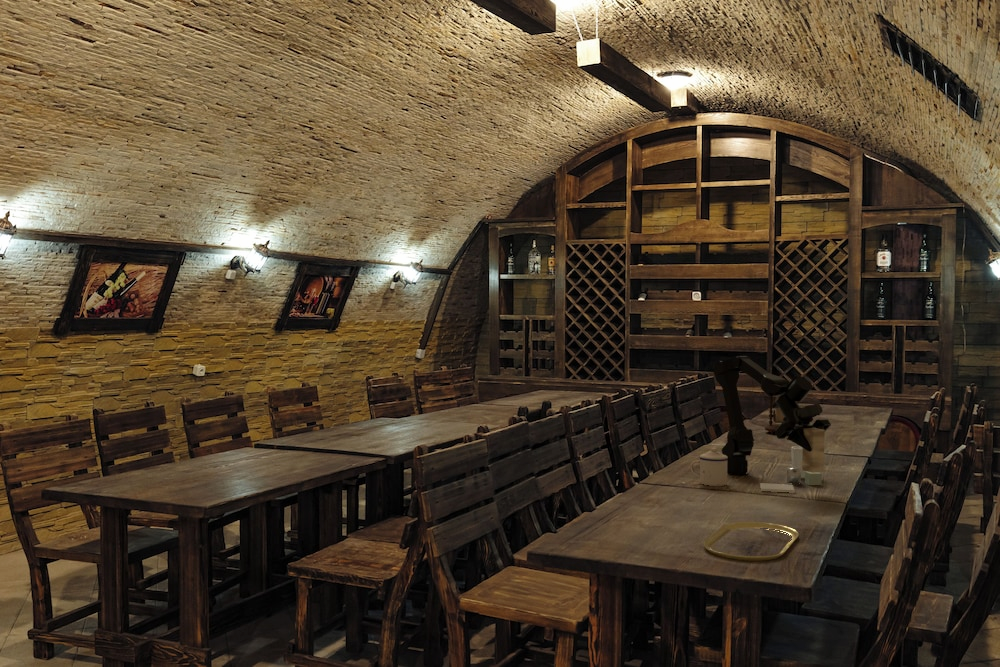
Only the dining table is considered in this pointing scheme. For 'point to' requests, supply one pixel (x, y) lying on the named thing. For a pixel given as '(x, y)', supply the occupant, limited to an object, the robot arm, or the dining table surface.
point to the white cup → (797, 458)
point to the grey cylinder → (793, 475)
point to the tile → (777, 487)
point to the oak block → (814, 450)
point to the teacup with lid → (712, 468)
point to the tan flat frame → (740, 525)
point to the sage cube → (813, 478)
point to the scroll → (774, 416)
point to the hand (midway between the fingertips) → (816, 450)
